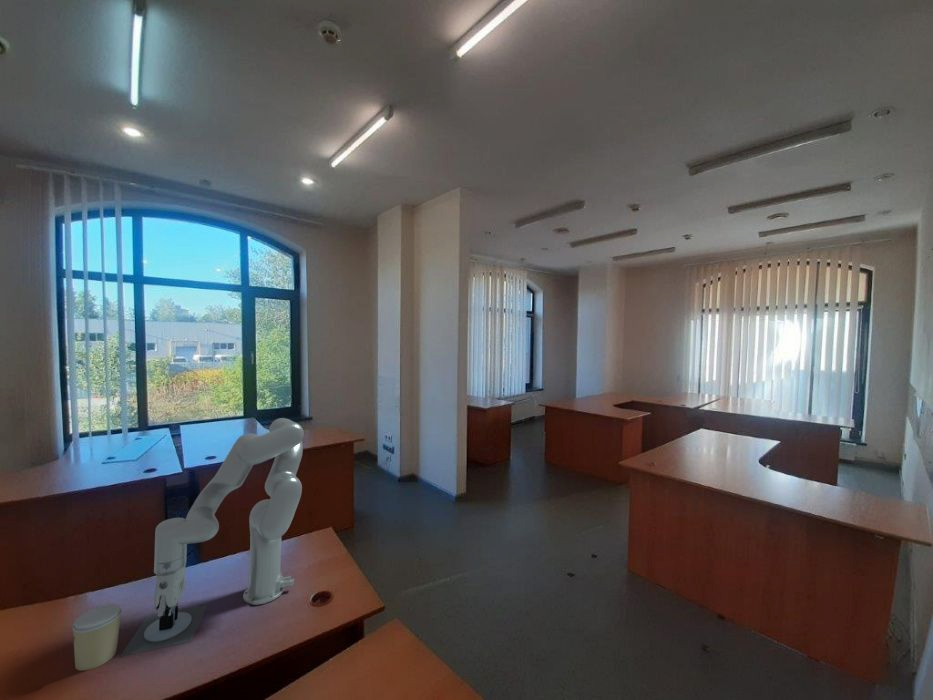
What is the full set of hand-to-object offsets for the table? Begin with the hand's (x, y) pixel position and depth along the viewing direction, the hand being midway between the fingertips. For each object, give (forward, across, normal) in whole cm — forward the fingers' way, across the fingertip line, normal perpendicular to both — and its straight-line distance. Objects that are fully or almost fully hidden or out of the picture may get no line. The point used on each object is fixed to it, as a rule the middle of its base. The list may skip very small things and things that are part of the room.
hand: (168, 623), depth 110 cm
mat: (+2, 0, 0) cm, 2 cm away
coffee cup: (+2, -7, +14) cm, 15 cm away
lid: (+1, 0, 0) cm, 1 cm away
